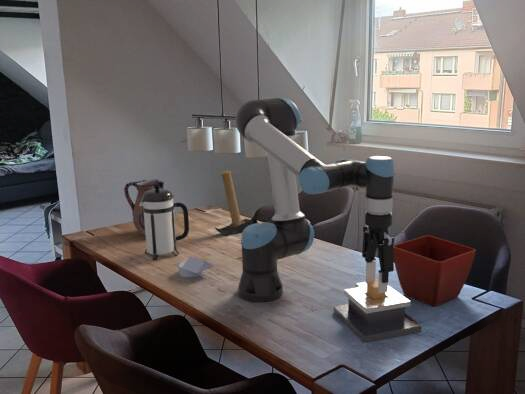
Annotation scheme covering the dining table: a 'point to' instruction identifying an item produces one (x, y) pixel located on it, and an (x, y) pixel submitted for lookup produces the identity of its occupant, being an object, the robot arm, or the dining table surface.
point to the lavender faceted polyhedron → (193, 267)
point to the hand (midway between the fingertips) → (376, 287)
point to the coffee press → (161, 222)
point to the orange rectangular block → (374, 291)
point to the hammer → (233, 209)
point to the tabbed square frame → (376, 314)
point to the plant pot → (432, 268)
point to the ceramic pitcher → (136, 209)
